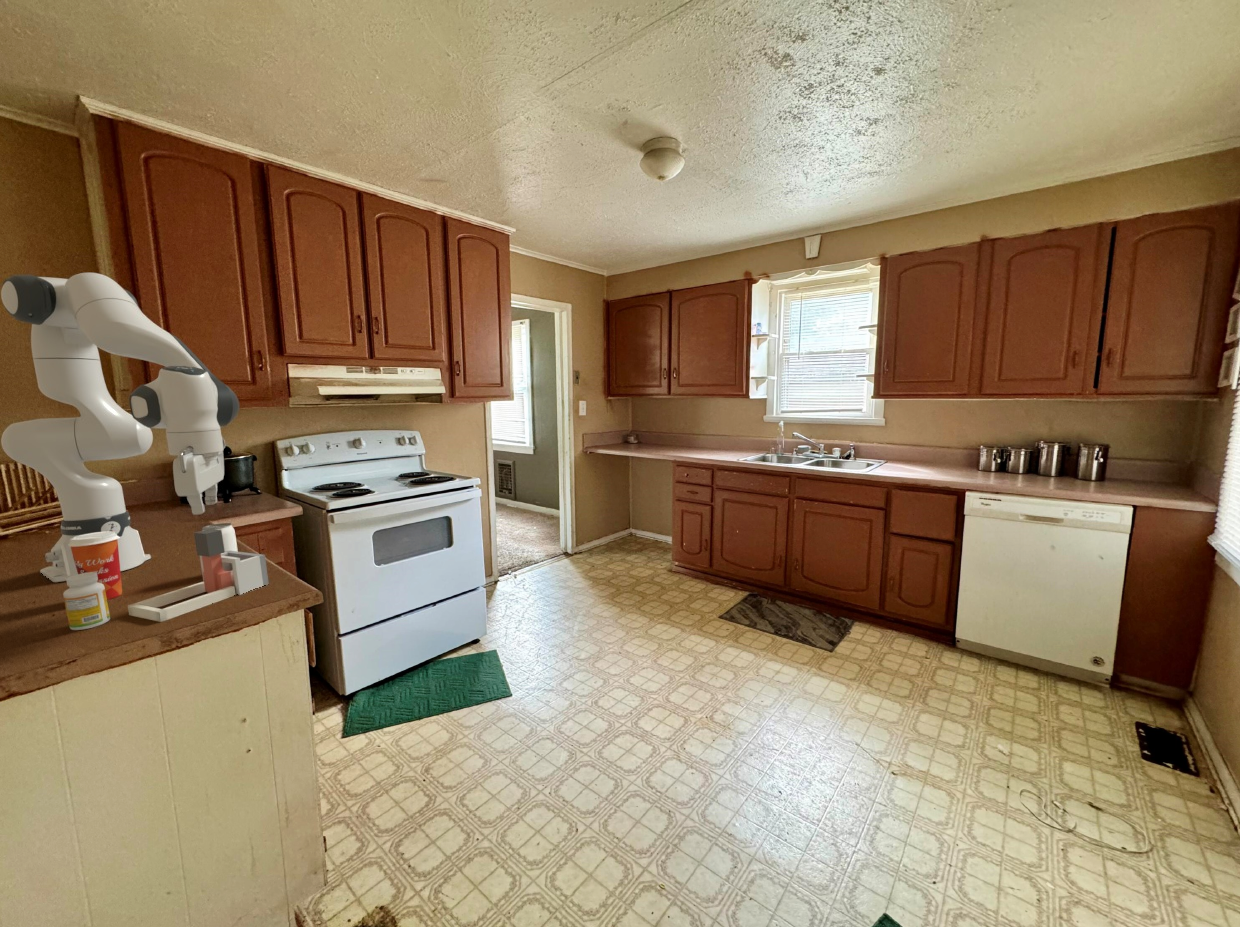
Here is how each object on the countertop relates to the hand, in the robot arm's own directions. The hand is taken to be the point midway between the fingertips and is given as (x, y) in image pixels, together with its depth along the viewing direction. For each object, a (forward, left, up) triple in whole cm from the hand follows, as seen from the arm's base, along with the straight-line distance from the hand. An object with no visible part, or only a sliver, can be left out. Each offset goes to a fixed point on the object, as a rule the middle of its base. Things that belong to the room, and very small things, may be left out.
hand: (205, 508), depth 108 cm
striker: (0, 0, -19) cm, 19 cm away
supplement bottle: (-7, -18, -19) cm, 27 cm away
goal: (0, +3, -19) cm, 19 cm away
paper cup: (-23, -9, -19) cm, 31 cm away
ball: (0, +3, -17) cm, 17 cm away
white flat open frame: (0, -7, -19) cm, 20 cm away
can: (-13, +9, -19) cm, 25 cm away
